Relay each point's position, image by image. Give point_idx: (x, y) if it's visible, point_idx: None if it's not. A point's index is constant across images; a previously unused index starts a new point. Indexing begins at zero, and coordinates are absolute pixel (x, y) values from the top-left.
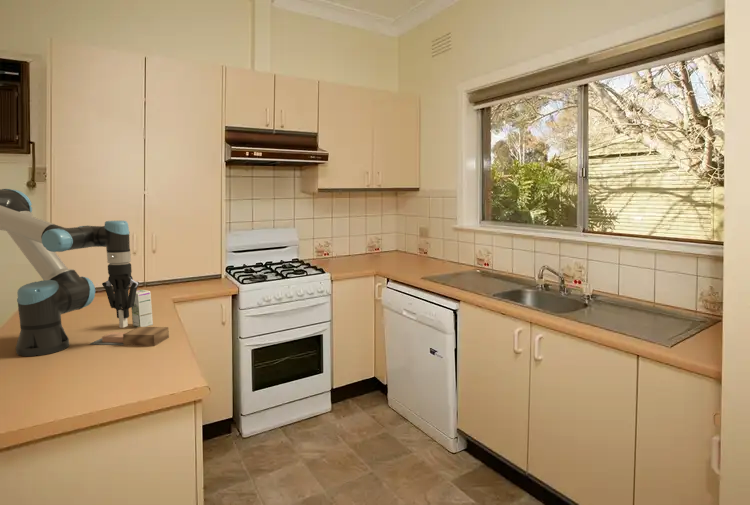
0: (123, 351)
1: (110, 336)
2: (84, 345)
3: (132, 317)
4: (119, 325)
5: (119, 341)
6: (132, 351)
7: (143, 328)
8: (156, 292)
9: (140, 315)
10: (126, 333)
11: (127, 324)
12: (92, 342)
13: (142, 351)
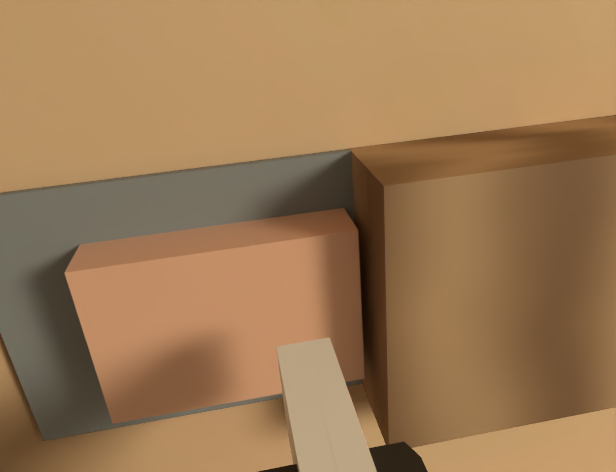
0: (443, 466)
1: (192, 396)
2: (21, 459)
3: None
4: (289, 441)
5: None
6: (503, 451)
7: (485, 244)
8: None
9: None
10: (404, 424)
11: (333, 353)
12: (34, 413)
13: (568, 434)
